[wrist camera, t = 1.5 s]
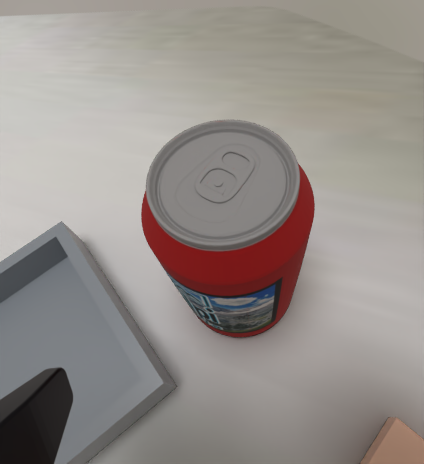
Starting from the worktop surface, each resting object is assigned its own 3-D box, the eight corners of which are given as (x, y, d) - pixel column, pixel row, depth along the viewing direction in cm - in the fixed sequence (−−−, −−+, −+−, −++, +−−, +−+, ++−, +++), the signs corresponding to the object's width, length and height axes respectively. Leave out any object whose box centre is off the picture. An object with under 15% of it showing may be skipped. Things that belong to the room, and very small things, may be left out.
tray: (177, 386, 20) (163, 382, 17) (-21, 552, 17) (-74, 579, 15) (83, 241, 25) (61, 221, 23) (-78, 351, 23) (-123, 343, 20)
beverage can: (168, 302, 22) (86, 205, 12) (225, 225, 24) (199, 85, 14) (256, 363, 20) (252, 310, 9) (311, 272, 22) (357, 145, 11)
